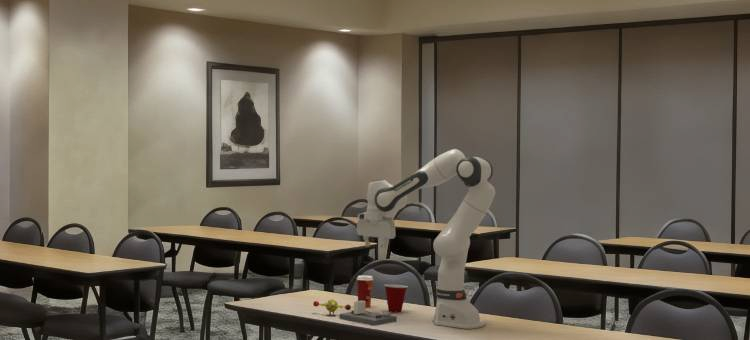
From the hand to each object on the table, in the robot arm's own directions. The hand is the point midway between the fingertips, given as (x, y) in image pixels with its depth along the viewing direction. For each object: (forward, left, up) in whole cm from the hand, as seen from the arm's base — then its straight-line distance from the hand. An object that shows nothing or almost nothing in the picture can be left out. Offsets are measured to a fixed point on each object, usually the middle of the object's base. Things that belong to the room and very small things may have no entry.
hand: (375, 247), depth 419 cm
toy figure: (+7, +19, -29) cm, 36 cm away
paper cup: (+13, -8, -29) cm, 33 cm away
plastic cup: (-4, -10, -29) cm, 31 cm away
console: (-10, +15, -29) cm, 34 cm away
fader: (-6, +16, -27) cm, 32 cm away
